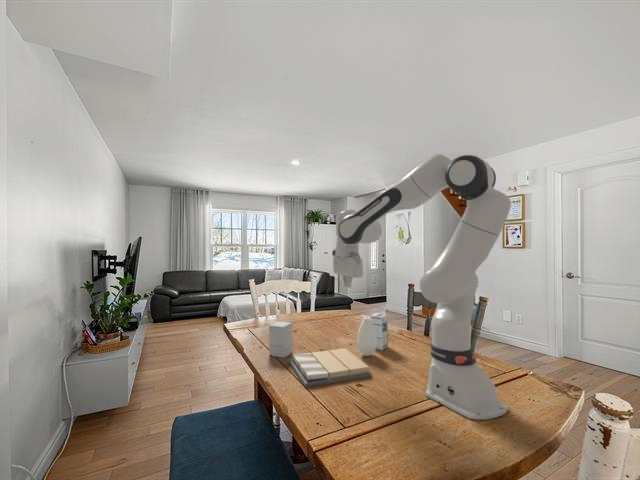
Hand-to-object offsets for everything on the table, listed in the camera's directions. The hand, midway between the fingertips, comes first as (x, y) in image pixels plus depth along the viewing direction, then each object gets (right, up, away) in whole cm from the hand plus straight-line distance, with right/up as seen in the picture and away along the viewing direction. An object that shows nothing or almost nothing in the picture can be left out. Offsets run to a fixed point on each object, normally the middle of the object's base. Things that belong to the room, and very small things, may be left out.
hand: (347, 287), depth 118 cm
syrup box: (+16, -30, +16) cm, 37 cm away
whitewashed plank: (-15, -27, -10) cm, 33 cm away
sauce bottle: (+9, -29, +6) cm, 31 cm away
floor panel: (-8, -29, -8) cm, 31 cm away
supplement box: (-27, -30, +8) cm, 41 cm away
